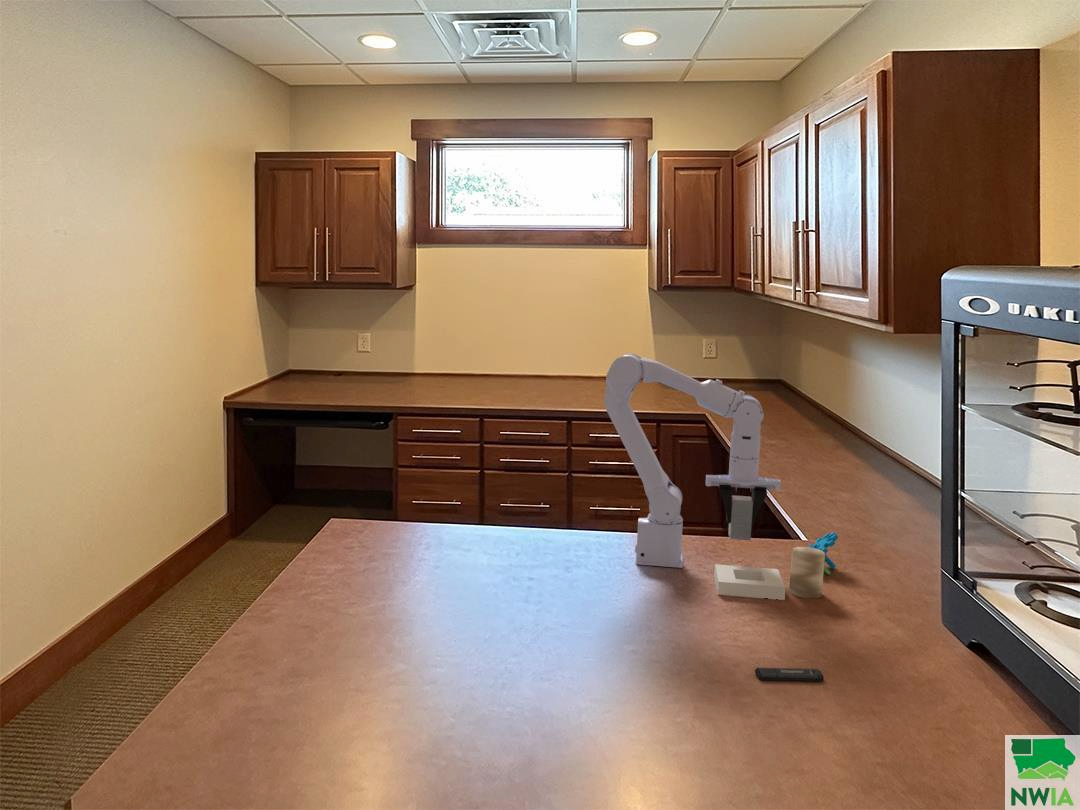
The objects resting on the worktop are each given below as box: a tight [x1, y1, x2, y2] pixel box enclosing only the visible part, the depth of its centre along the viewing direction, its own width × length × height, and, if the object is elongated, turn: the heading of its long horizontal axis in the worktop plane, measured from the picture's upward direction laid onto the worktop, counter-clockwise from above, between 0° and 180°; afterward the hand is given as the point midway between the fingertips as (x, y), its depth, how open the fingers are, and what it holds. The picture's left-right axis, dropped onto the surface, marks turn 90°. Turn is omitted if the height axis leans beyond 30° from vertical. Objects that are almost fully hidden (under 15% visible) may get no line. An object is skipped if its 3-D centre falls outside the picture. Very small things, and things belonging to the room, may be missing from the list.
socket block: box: [713, 563, 786, 601], centre depth 149 cm, size 12×10×2 cm
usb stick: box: [754, 667, 825, 683], centre depth 113 cm, size 10×3×2 cm, turn 91°
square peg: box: [728, 494, 753, 541], centre depth 158 cm, size 4×4×8 cm
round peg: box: [788, 546, 825, 599], centre depth 147 cm, size 6×6×8 cm
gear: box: [808, 531, 839, 576], centre depth 162 cm, size 11×6×10 cm
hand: (740, 522), depth 159 cm, fingers closed on square peg, 4 cm apart
